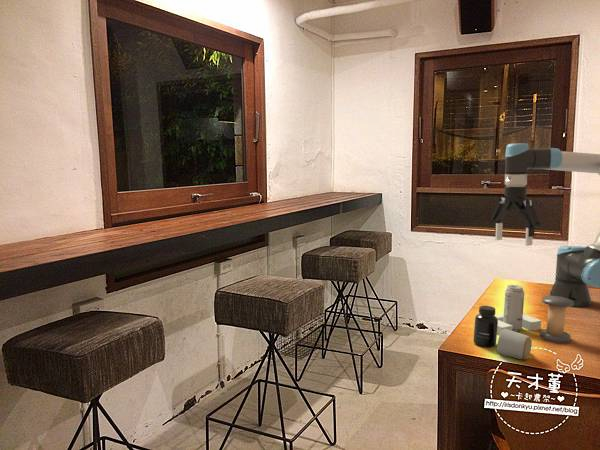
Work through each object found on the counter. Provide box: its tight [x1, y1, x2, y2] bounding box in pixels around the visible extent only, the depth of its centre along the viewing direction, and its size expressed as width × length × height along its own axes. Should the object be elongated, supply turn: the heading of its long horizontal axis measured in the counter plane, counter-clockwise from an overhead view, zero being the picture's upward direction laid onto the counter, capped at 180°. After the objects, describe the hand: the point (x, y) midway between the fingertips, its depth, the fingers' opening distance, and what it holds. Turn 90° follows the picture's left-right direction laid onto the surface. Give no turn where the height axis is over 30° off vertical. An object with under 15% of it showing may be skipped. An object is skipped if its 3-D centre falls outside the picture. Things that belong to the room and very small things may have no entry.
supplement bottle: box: [473, 305, 498, 348], centre depth 157 cm, size 7×7×12 cm
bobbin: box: [539, 295, 574, 344], centre depth 162 cm, size 9×9×13 cm
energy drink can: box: [503, 284, 525, 332], centre depth 170 cm, size 6×6×15 cm
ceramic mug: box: [496, 329, 533, 360], centre depth 149 cm, size 11×8×8 cm
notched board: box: [494, 313, 542, 336], centre depth 172 cm, size 18×10×3 cm, turn 113°
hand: (513, 242), depth 185 cm, fingers open, 13 cm apart
